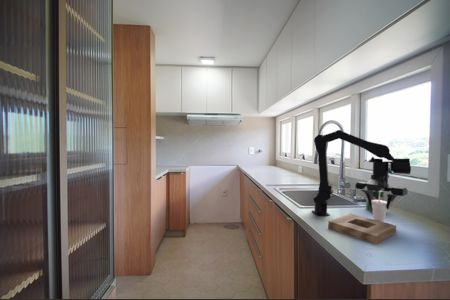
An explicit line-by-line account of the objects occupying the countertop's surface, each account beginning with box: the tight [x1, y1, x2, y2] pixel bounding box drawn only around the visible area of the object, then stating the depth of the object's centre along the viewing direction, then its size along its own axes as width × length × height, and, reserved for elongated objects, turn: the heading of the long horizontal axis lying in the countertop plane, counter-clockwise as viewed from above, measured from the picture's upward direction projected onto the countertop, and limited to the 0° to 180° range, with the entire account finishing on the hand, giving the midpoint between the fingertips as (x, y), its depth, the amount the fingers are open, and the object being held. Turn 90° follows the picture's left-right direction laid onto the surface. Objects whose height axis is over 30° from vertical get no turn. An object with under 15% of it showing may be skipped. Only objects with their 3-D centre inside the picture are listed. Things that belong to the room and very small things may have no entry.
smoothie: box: [371, 191, 388, 222], centre depth 102 cm, size 6×6×14 cm
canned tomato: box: [365, 190, 385, 213], centre depth 121 cm, size 8×8×11 cm
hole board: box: [327, 213, 397, 245], centre depth 93 cm, size 18×18×3 cm
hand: (379, 207), depth 102 cm, fingers closed on smoothie, 6 cm apart
